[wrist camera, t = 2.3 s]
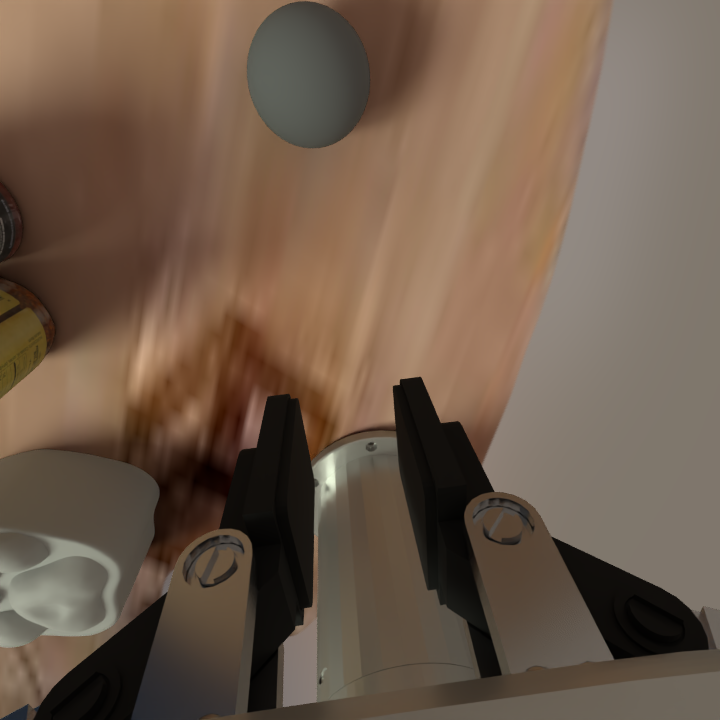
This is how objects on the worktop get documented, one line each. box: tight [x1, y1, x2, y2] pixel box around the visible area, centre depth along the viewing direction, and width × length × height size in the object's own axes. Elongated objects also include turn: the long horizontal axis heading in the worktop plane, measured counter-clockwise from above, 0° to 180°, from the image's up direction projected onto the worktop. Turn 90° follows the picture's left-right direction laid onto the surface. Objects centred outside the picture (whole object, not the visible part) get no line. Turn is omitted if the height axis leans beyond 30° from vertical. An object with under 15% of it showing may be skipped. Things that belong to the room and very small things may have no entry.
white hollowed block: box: [0, 449, 159, 647], centre depth 30 cm, size 10×13×9 cm
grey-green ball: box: [247, 1, 370, 148], centre depth 20 cm, size 6×6×6 cm
